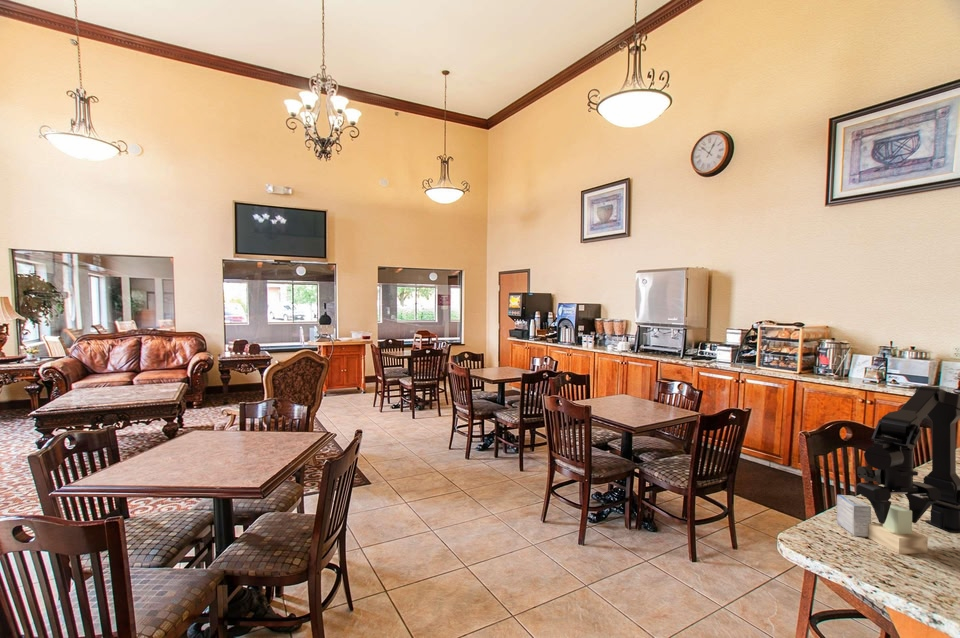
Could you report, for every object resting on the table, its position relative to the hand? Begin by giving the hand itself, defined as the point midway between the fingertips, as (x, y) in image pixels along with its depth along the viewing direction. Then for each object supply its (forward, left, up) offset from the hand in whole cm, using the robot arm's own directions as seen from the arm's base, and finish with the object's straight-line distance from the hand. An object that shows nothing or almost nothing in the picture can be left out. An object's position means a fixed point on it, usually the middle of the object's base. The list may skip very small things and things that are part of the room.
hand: (897, 522), depth 116 cm
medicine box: (+4, -8, -6) cm, 11 cm away
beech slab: (0, 0, -6) cm, 6 cm away
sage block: (0, 0, -2) cm, 2 cm away
